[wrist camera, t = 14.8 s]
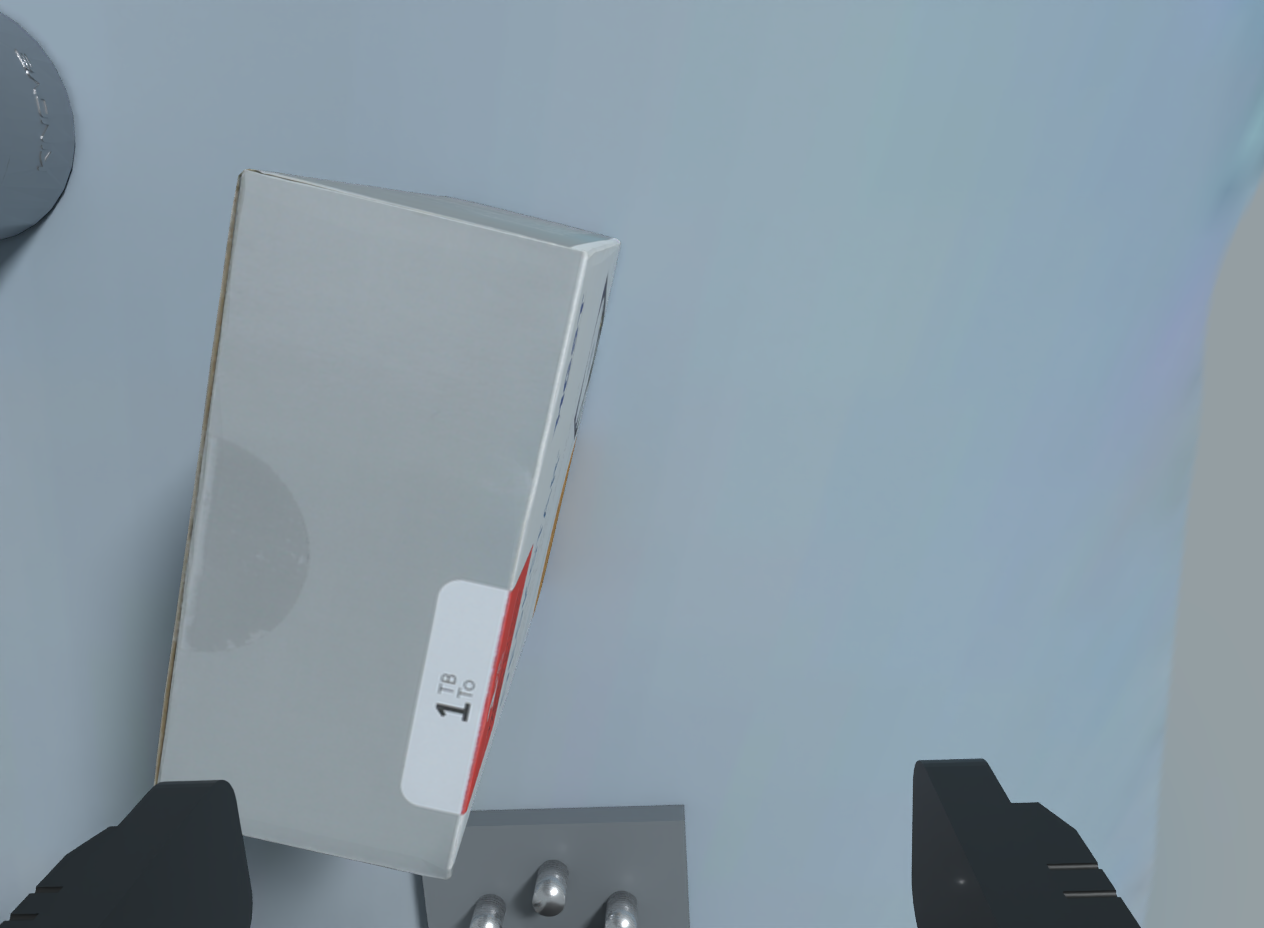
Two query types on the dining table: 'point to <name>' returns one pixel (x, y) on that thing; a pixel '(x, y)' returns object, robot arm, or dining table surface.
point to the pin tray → (566, 870)
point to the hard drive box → (374, 506)
